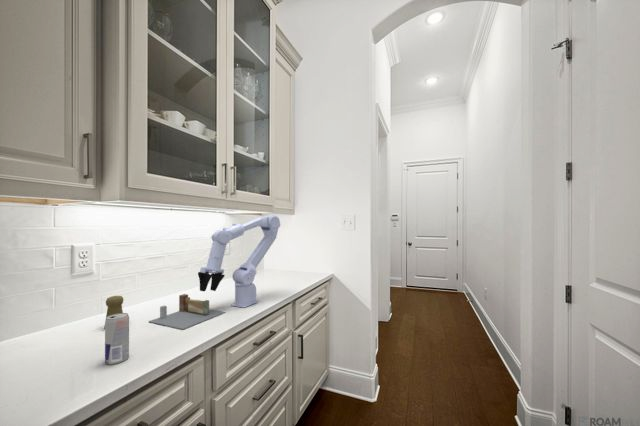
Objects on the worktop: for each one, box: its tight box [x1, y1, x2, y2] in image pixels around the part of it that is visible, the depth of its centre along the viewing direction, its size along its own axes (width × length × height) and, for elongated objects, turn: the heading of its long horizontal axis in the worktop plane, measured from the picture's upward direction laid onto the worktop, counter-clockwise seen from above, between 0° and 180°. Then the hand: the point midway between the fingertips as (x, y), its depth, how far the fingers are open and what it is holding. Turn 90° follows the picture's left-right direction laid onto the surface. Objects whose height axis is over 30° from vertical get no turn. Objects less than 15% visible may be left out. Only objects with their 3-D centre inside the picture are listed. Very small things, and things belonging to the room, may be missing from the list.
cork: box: [103, 295, 124, 330], centre depth 101 cm, size 6×6×11 cm
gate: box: [185, 296, 210, 314], centre depth 114 cm, size 2×12×5 cm, turn 64°
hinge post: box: [178, 293, 189, 312], centre depth 117 cm, size 2×2×7 cm
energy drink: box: [104, 312, 130, 365], centre depth 77 cm, size 5×5×12 cm
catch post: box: [159, 305, 168, 319], centre depth 109 cm, size 2×2×5 cm
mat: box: [148, 308, 226, 331], centre depth 110 cm, size 20×19×1 cm
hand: (207, 290), depth 115 cm, fingers open, 7 cm apart
